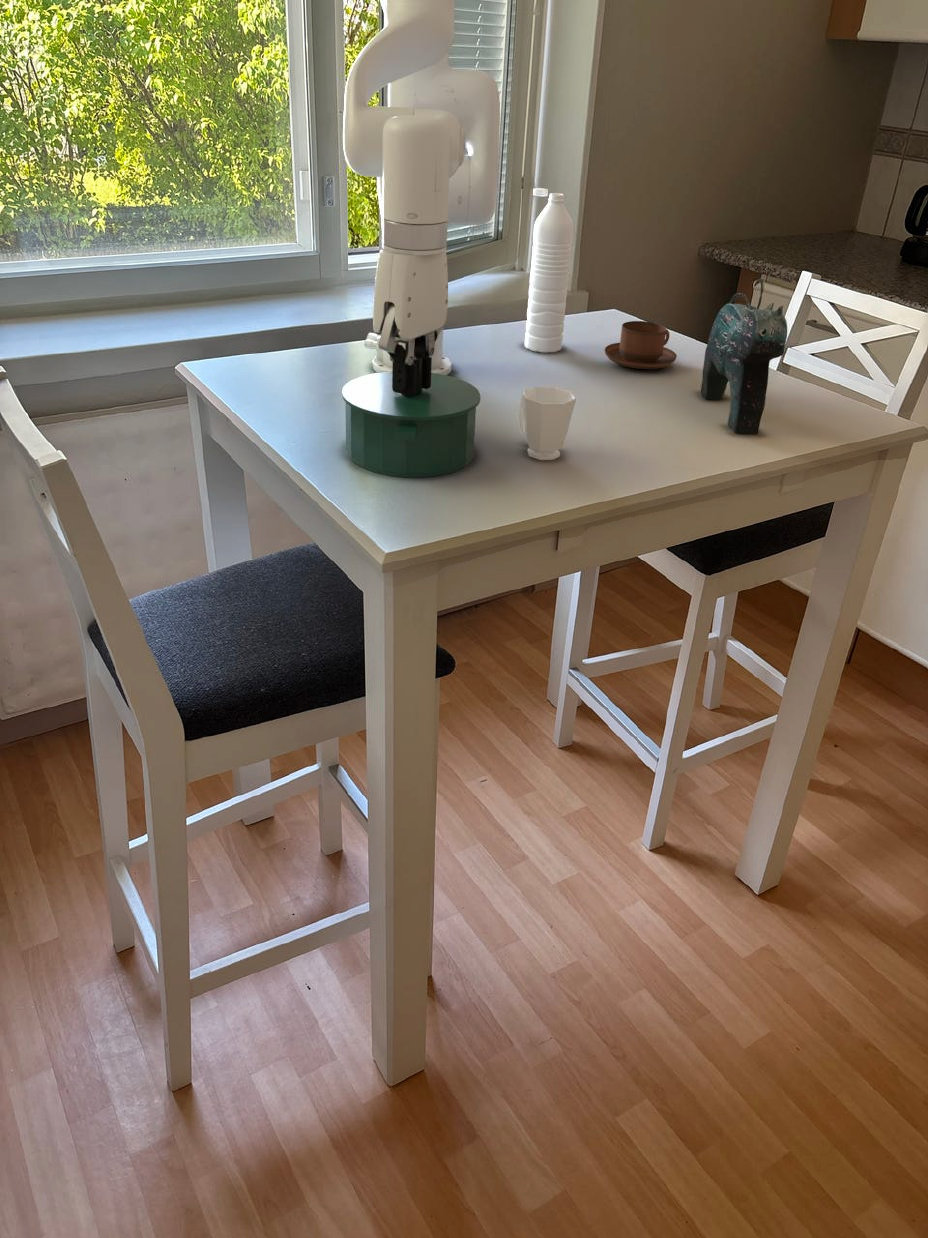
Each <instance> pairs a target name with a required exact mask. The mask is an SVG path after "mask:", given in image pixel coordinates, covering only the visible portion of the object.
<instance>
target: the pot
mask: <svg viewBox="0 0 928 1238" xmlns="http://www.w3.org/2000/svg"><path fill="white" fill-rule="evenodd" d="M344 402H345V401H344ZM344 404H345V448H346V449H345V450H346V452H347V456H348V458H349V459H350V460H351V462H352V463H354V464H355V465H357V466H359V468H363V469H364V470H367V471H370V472H373V473H375V474H380V475H385V476H390V477H398V478H399V477H400V478H430V477H431V478H432V477H438V476H443V475H447V474H451V473H455V472H457V471H460V470H462V469H463V468H465V467H467V466H468V465H469V464H470V463H471V462H472V460H473V458H474V453H475V451H474V450H475V436H476V435H475V433H476V417H477V407H476V408H475V409H473V410H472V411H470V412H468V413H465V414H462V415H460V416H456V417H452V418H446V419H439V420H427V421H408V420H396V419H388V418H382V417H377V416H373V415H369V414H366V413H363V412H361V411H358V410H356V409H354V408H352V407H351V406H349V405H348V404H347V403H346V402H345V403H344Z"/></svg>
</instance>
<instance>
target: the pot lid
mask: <svg viewBox="0 0 928 1238" xmlns="http://www.w3.org/2000/svg"><path fill="white" fill-rule="evenodd" d="M413 363H414V364H417V369H416V394H415V395H414V396H408V395H404V394H400V393H397V392H394V391H393V389H392V371H390V372H381V373H377V372H375V373H369V374H366V375H361V376H359V377H356V378H354V379H352V380H350V381H349V382H347V383H346V384H345V385H344V386H343V387H342V390H341V397H342V400H343V401H344V402H346V403H347V404H348V405H349V406H351V407H352V408H354V409H356V410H358V411H361V412H363V413H366V414H369V415H373V416H377V417H382V418H388V419H396V420H408V421H427V420H439V419H446V418H452V417H456V416H460V415H462V414H465V413H468V412H470V411H472V410H473V409H475V408H476V409H477V407H479V404H480V403H481V397H482V396H481V393H480V391H479V389H478V388H477V387H476V386H474V385H473V384H471V383H469V382H468V381H467V380H466V381H465V380H463V379H461V378H458V377H454V376H451V375H448V374H447V375H442V374H437V373H431V387H430V388H428V389H424V388H422V372H423V356H422V355H420V354H415V353H414V360H413Z"/></svg>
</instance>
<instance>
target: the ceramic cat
mask: <svg viewBox="0 0 928 1238" xmlns="http://www.w3.org/2000/svg"><path fill="white" fill-rule="evenodd" d="M758 284H760V295H759V298H758V303H757V306H753V305H751V302H750V300H749V298H748V296H747V294H745V293H742V292H740V293H739V292H737V293H735V294H734V295H733V296H731V299H730V300H729V302H728V303H726V304H725V305H724V306H722V307H721V308H720V310H719V311H718V312H717V314H716V317H715V319H714V321H713V324H712V327H711V330H710V333H709V335H708V336H709V337H708V340H707V344H706V347H705V351H704V360H703V367H702V374H701V375H702V377H701V384H700V394H701V396H702V397H703V398H704V399H705V400H715V401H716V400H717V401H719V400H723V399H724V396H725V393H726V390H727V387H728V386H729V392H730V393H729V394H730V409H729V414H728V418H727V419H728V420H727V427H728V428H729V429H731V430H732V432H733V433H734V434H736V435H758V434H759V431H760V430H759V429H760V425H761V420H762V416H763V413H764V410H765V407H766V398H767V397H766V396H767V390H768V383H769V370H770V369H769V368H770V362H771V360H773V359H777V358H780V357H783V355H784V353H785V348H786V343H787V338H788V322H787V319H786V316H785V315H784V314H783V313H784V311H783V309H784V305H780V306H779V307H778V306H777V308H775V309H774V310H773V308H774V306H775V303H774V302H772V303H770V304H769V305H767V306H766V307H765V308H764V309H760V307H761V304H762V299H763V293H764V290H765V289H764V288H765V286H764V279H763V278H758V279H757V280H756V281H755V283H754V284H753V286H754V287H756V286H757V285H758ZM738 297H741V298H744V300H745V303H746V304H743V303H733V302H734V301H736V299H737V298H738Z"/></svg>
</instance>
